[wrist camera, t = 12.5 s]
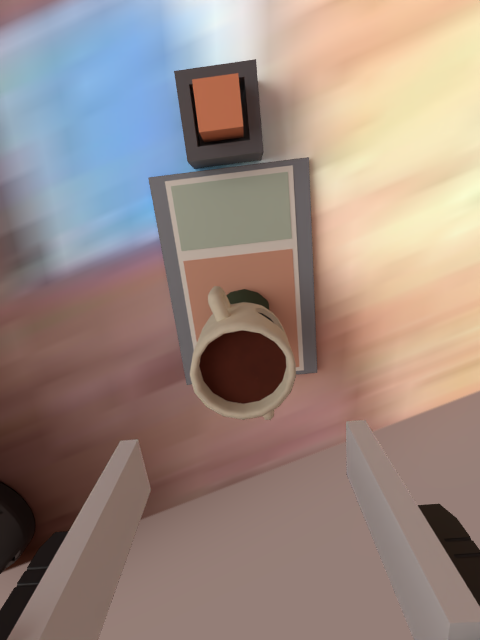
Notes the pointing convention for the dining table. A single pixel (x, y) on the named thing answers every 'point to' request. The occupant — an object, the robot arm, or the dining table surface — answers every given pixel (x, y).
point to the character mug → (242, 357)
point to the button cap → (218, 107)
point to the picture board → (239, 247)
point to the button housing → (251, 141)
